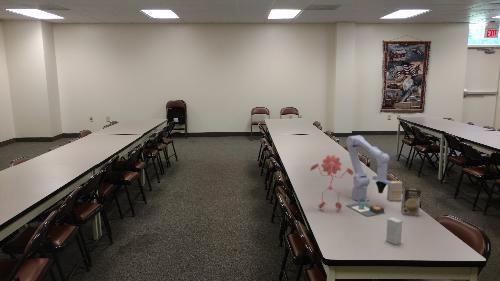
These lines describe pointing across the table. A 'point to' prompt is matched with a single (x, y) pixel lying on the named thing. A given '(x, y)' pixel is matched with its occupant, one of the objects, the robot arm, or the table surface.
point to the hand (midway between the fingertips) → (380, 192)
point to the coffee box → (410, 201)
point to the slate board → (366, 209)
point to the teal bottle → (361, 203)
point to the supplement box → (394, 191)
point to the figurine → (331, 167)
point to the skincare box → (394, 230)
